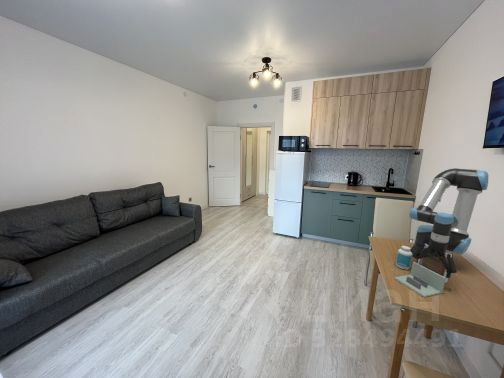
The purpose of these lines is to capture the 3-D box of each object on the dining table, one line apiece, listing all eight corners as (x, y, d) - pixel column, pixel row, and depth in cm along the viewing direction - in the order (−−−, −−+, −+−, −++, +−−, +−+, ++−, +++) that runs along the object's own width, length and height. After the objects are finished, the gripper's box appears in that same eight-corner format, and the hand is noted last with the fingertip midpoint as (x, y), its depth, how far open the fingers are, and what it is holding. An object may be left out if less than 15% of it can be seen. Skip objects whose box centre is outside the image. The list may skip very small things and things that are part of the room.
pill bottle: (411, 271, 131) (415, 250, 129) (398, 269, 132) (402, 249, 130) (405, 264, 138) (409, 245, 136) (393, 263, 140) (396, 244, 137)
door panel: (422, 275, 127) (426, 256, 125) (441, 285, 118) (446, 265, 116) (418, 275, 126) (423, 257, 124) (437, 286, 117) (442, 266, 115)
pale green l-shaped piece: (411, 275, 126) (414, 261, 124) (442, 293, 111) (446, 277, 109) (394, 278, 121) (397, 264, 120) (423, 297, 106) (427, 281, 105)
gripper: (411, 232, 128) (404, 264, 132) (462, 251, 105) (452, 289, 108) (420, 231, 130) (413, 263, 134) (471, 250, 107) (461, 287, 111)
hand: (430, 275), depth 121 cm, fingers open, 13 cm apart
